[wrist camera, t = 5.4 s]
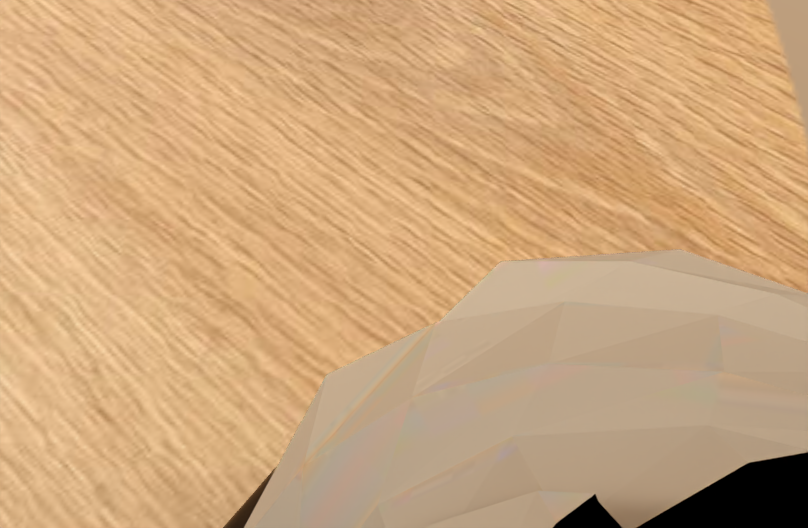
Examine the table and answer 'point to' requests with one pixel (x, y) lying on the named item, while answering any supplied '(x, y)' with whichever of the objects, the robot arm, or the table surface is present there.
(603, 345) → the ice cream cone
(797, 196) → the table surface
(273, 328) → the table surface
